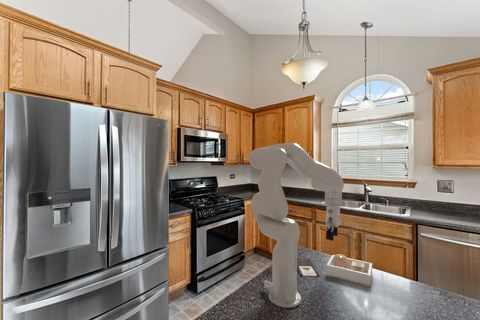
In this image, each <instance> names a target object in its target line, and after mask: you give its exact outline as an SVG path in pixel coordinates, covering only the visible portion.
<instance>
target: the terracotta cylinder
mask: <svg viewBox="0 0 480 320" xmlns="http://www.w3.org/2000/svg"><path fill="white" fill-rule="evenodd" d="M334 255H335V266H337V267H342V268H346V258H347V256H346V255H344V254H341V253H337V254H334Z"/></svg>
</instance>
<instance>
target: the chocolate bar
mask: <svg viewBox="0 0 480 320" xmlns="http://www.w3.org/2000/svg"><path fill="white" fill-rule="evenodd" d="M297 273H298V275H299V276H300V277H315V278H317V277H320V273H318V271H317V269H316V268H315V266H314V263H313V262H312V261H311V259H310V258H297Z"/></svg>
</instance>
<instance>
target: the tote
mask: <svg viewBox="0 0 480 320" xmlns="http://www.w3.org/2000/svg"><path fill="white" fill-rule="evenodd" d="M335 255H336V254H332V255H331V257H330V258H329V260H328V262H327V264H326V276H327V277H332V278H335V279H338V280H343V281H346V282H351V283H354V284H358V285H362V286H365V287H368V286H369V287H368V288H371V286H372V285H371V284H372V277H373V263H372V262H367V261H363V260H358V259H355V258H349V257H346V268H342V267H337V266H335ZM352 261H355V262H359V263H364V273H362V272H358V271H354V270H351V265H352Z"/></svg>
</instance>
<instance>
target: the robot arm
mask: <svg viewBox="0 0 480 320" xmlns="http://www.w3.org/2000/svg"><path fill="white" fill-rule="evenodd" d="M248 161H249V165H250V166H251V167H252V168H254V169H255V170H261V172H260V174H259V178H258V181H257V186H258V190H259V191H258V192H256V193H254V195H253V197H252V199H251V203H250V205H251V210H252V214H253V216H254V219H255V222H256V225H257V226H258V228H259V230H260V232H261V234H263V235H264V236H266V237H268V238H271V239H272V240H275V241H276V243H275V245H274V247H273V249H272V254H271V255H272V256H271V257H272V261H271V262H272V264H271V266H272V271H271V272H272V281H270V280H266V279H265V280H264V281H263V285H264V286H263V288H264V289H267V290H269V291H268V293H267V296H268V299H269V301H270V302H271V303H272V304H273V305H275V306H276V307H281V308H285V309H286V308H288V309H289V308H290V309H291V308H295V307H298V306H299V305H300V304H301V302H302V296H301V293H299V292H298V270H297V259H298V245H299V240H300V234H301V230H300V225H299V223H298V222H296V221H295V219H291V218H289V217H287V216H288V213H289V205H288V201H287V199H286V195H285V192H284V189H283V186H282V182H281V179H282V174H283V171H284V168H285V167H286V165H289V166H290V167H291V168H292V169H293V170H295V171H296V172H297V173H298V174H299V175H300V176H302V177H304V178H307V179H311V180H310V185H311V188H312V189H314V190H316V191H319V192H324V205H326V210H325V211H326V212H325V225H326V229H325V240H328V241H334V240H335V239H334V236H335V237H338V232H339V231H338V229H339V226H340V224H341V206H342V204H343V201H342V200H343V198H342V197H343V189H344V186H345V184H344V180H343V178H342V176H341V174H339V173H338V172H337V171H336V170H335V169H333V168H332V167H330V166H328V165H326V164H325V163H324V164H323V163H321V162H319V161H317V160H315V159H313V157H312V156H310V155H309V154H308V152H306V150H305V149H303V147H302V146H300V145H299V144H298V143H295V142H287V143H276V144H272V145H268V146H263V147H259V148H255V149H253V150H252V151H251V152H250V154H249V157H248Z"/></svg>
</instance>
